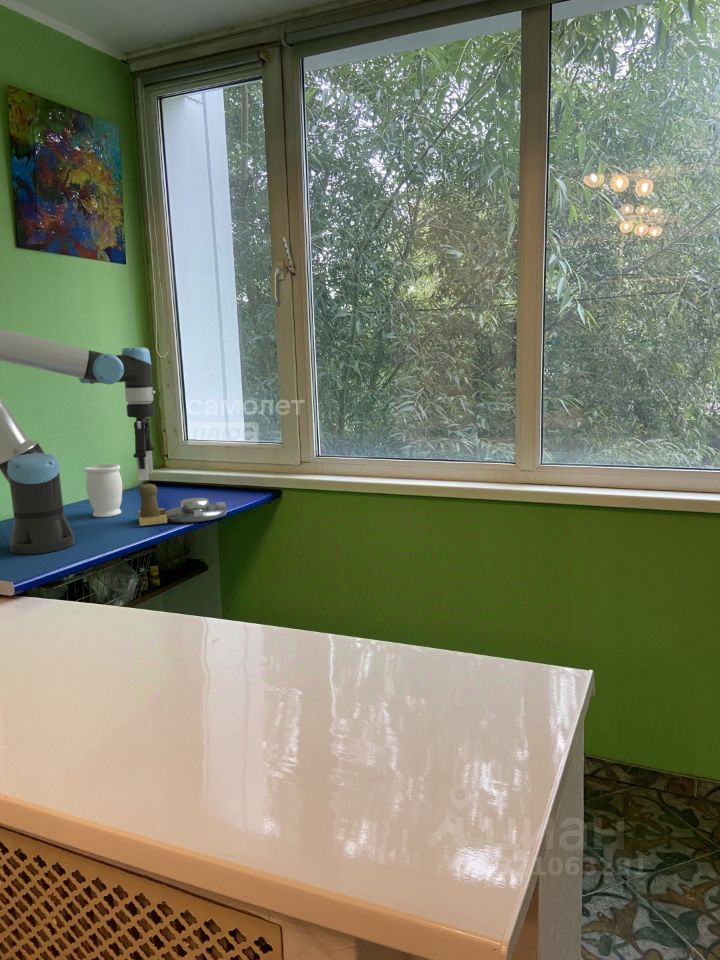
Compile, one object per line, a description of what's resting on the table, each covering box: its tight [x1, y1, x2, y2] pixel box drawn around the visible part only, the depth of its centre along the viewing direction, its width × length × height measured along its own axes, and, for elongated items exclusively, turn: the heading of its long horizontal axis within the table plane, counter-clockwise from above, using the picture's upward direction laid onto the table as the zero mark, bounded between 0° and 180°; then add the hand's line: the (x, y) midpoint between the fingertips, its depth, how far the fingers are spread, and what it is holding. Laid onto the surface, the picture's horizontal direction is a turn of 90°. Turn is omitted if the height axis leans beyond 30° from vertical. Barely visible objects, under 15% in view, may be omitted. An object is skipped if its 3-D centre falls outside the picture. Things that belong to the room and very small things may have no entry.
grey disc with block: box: [137, 497, 227, 526], centre depth 207 cm, size 25×18×4 cm
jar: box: [83, 463, 123, 518], centre depth 216 cm, size 11×10×15 cm
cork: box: [138, 483, 160, 517], centre depth 204 cm, size 6×6×11 cm
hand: (145, 476), depth 204 cm, fingers open, 13 cm apart
